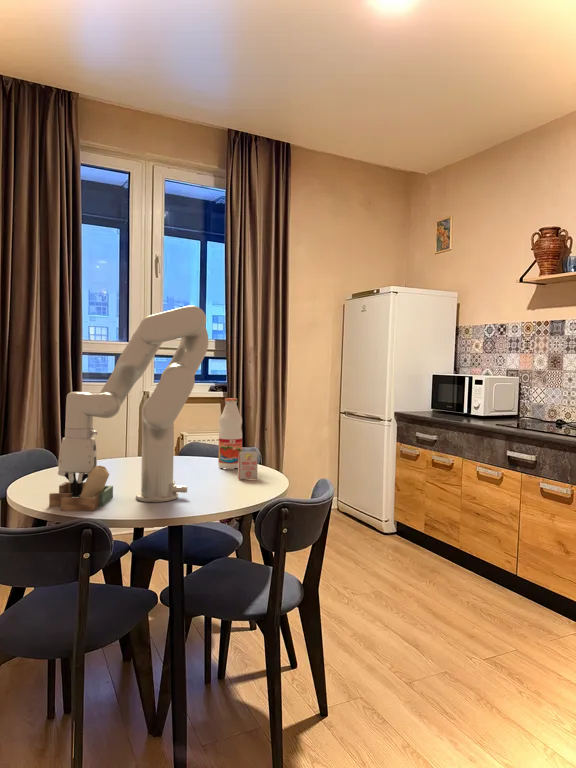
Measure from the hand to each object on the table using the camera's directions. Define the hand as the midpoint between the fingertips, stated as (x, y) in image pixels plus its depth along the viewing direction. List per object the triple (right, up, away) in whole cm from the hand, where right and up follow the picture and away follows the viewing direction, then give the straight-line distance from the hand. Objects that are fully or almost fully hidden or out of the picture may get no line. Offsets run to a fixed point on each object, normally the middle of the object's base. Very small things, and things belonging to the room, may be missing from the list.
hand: (76, 495), depth 160 cm
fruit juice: (+39, -1, +59) cm, 71 cm away
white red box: (+48, -2, +37) cm, 61 cm away
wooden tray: (+2, -2, 0) cm, 2 cm away
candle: (+4, -1, 0) cm, 4 cm away
